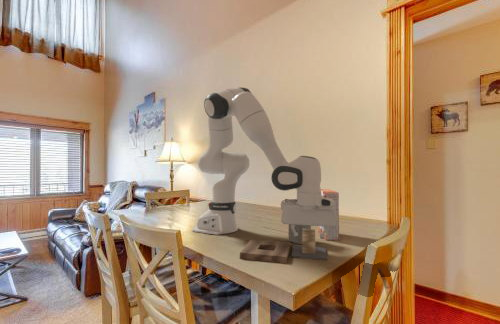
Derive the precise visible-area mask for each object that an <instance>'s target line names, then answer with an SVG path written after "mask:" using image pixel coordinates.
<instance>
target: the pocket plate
mask: <svg viewBox="0 0 500 324" xmlns="http://www.w3.org/2000/svg"><path fill="white" fill-rule="evenodd" d="M291 248H292V243H291V242H290V241H288V242H286V241H273V240H261V239H250V240H249V242H248V243H247V244H246V245H245V246H244V248H242V250H241V251H239V259H240V260H241V259H242V260H251V261H252V260H253V261H260V262H262V261H264V262H270V263H271V262H272V263H282V264H287V263H288V259H289V257H290V252H291V250H292V249H291Z"/></svg>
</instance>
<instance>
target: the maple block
mask: <svg viewBox="0 0 500 324" xmlns="http://www.w3.org/2000/svg"><path fill="white" fill-rule="evenodd" d="M301 245H302V253H313V254H315V247H316V229H315V228H314V229H312V228H311V229H303V231H302V244H301Z"/></svg>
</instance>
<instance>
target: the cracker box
mask: <svg viewBox="0 0 500 324" xmlns="http://www.w3.org/2000/svg"><path fill="white" fill-rule="evenodd" d="M320 189H321V188H320ZM339 194H340V193H339V192H337V191H335V190H331V189H329V188H326V189H325V188H322V189H321V195H322V196H325V197H328V198H331V199H333V201H334V208H335V209H336V212H337V217H338V225H337V226H336V227H328V230H327V232H326V233H325V234H324V239H325V240H326V241H340V220H339V219H340V209H339V206H340V203H339V197H340V196H339ZM317 227H318V228H317V229H318V232H319V233H323V231H324V228H323V226H317Z"/></svg>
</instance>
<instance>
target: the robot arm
mask: <svg viewBox="0 0 500 324" xmlns="http://www.w3.org/2000/svg"><path fill="white" fill-rule="evenodd" d="M203 103H204V104H203V105H204V106H203V107H204V110H205V113H206V115H207V121H208V122H207V125H208V135H209V141H208V146H207V149H206V150H205V151H204V152H202V153H201V154H200V156H199V158H198V160H197V166H198V169H199V170H200V172H202V173H205V174H209V175H224V178H222V179H221V180H219V181H217V182H216V183H214V184H213V186H212V201H211V202H209V203H208V204H207V207H208V209H206V211H205V212H204V213H202V214H200V216H199V217H198V219H197V222H196V225H195V226H193V227H192V229H191V231H192V232H195V233H202V234H209V235H210V234H211V235H214V236H215V235H218V236H220V235H223V234H231V233H235V232H237V231H238V230H239V229H238V225H237V220H236V207H237V204H236V201H235V198H236V197H235V196H236V194H235V193H236V185H237V182H238V180H239V179H240V178H241V176H242V175H243V174H245V173H246V172H247V171H248V170H249V167H250V159H249V157H248V155H247V154H246V153H244V152H238V151H237V152H236V151H222V150H224V149H226V148H228V147H229V146H231V145H232V143H233V141H234V134H233V133H234V131H233V120H232V117H234V116H235V118H236V119H237V121H238V124H239V125H240V127H241V130H242V131H243V132H244V134H245V135H246V137H247V138H248V139H249V140H250V141H251V142H253V144H255V145H256V146H257V147H259V148H260V149H261V150H262V151H263V153H264V155H265V156H266V158H267V160H268V162H269V163H270V165H271V168H272V169H273V171H272V173H271V178H270V179H271V182H272V183H271V184H273V186H274V187H275V188H276V189H277V190H280V191H283V192H287V191H290V190H294V189H295V190H296V198H294V199H293V198H292V199H291V198H290V199H289V198H285V199H284V200H281V202H280V209H281V219H280V221H281V223H282V225H289V224H291V229H292V230H293V232H294V237H298V231H296V230H295V228H294V227H295V225H308V226H311V227H318V226H323V228H324V231H323V233H320V232H319V233H320V234H319V238H320V239H322V240H324V239H325V238H324V234H325V233H326V232H327V230H328V227H336V226H337V225H338V217H337V212H336V209H335V208H334V201H333V199H331V198H328V197H325V196H322V195H321V183H322V169H321V163H320V160H319V159H318V158H316V157H313V156H308V155H299V156H298V157H297V158H295V159H294V160H292V161H289V162H288V161H287V159H286V158H285V157H284V155H283V152H282V151H281V149H280V147H279V146H278V144H277V141H276V138H275V136H274V131H273V127H272V124H271V122H270V119H269V116H268V114H267V113H266V111H265V109H264V106H262V104H261V102H260V101H259V100H258V99H257V97H256V96H255V95H254V94H253V93H252V92H251V91H250V89H249V88H246V87H236V88H227V89H224V90H220V91H217V92H213V93H210V94H208V95H207V96H206V97H205V98H204V101H203Z"/></svg>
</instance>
